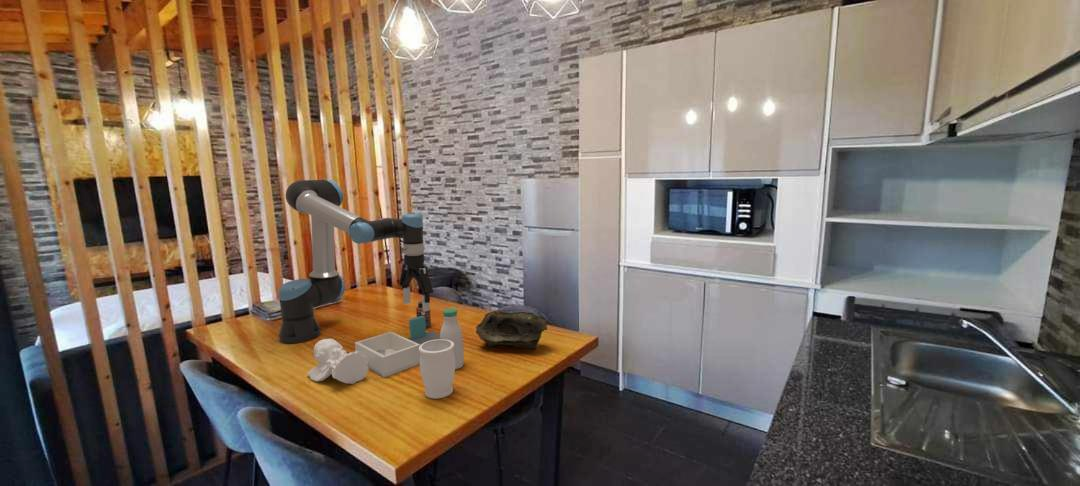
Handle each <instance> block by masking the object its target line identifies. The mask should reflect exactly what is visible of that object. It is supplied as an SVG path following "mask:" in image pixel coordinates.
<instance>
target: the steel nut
mask: <svg viewBox="0 0 1080 486" xmlns="http://www.w3.org/2000/svg"><path fill="white" fill-rule="evenodd" d="M374 351H376V352H378V353H380V354H382V355H384V356H385V355H386V352H385V351H384V350H378V349H376V350H374Z"/></svg>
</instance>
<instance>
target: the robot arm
mask: <svg viewBox="0 0 1080 486" xmlns="http://www.w3.org/2000/svg"><path fill="white" fill-rule="evenodd" d="M285 199H286V203H287V204H288V205H289V207H290V208H292V209H293V210H295V211H296V212H298V213H301V214H303V215H306V214H309V215H310V217H311V219H310V220H311V246H312V249H311V250H312V253H311V254H312V271H310V273H309V274H308V275H309V276H308V277H309V278H299V279H293V280H290V281H286V282H285V283H283V284H281V285H280V287H279V289H278V300H279V303H280V304H279V305H280V314H281V315H280V316H281V325H280V329H279V331H278V332H279V333H278V341H279V342H280V343H282V344H298V343H305V342H308V341H312V340H314V339H316V338H318V337H319V336H320V335H321V332H322V331H321V327H320V326H319V323H318V321H317V320H316V318H315V311H314V308H318V307H321V306H324V305H327V304H330V303H331V304H332V303H334V302H335V301H338V300H340V299H341V298H342V297H343V295H344V293H345V291H346V283H345V281H344V278H343V277H342V276H341V275H340V273H339V271H337V270H336V259H335V256H336V254H335V253H336V252H335V228H336V229H338V230H339V231H342V232H344V233H345V234H346V233H347V234H348V236H349V239H351V240H352V242H353V243H355V244H357V245H358V244H360V245H361V244H368V243H372V242H376V241H377V242H378V241H381V240H382V241H383V240H387V239H394V238H395V239H396V238H397V239H402V244H403V247H402V249H403V254H404V256H403V262H404V263H402V266H401V267H402V271H401V275H400V278H399V283H398V284H399V286H401V288H402V294H403V304H404V305H407V304H411V303H412V301H411V298H412V297H411V286H410V284H411V282H412V281H413V279H415V280H416V281H417V283H418V285H419V288H420V289H421V291H422V294H421V297H422V298H421V299H422V300H421V301H422V305H423V311H428V310H430V311H431V305H430V302H431V296H430V294H433V293H434V290H433V286H432V283H431V279H430V276H429V273H428V268H427V267H424V268H423V265H424V264H425V254H424V253H425V246H424V245H425V244H424V222H423V217H422V215H421V214H419V213H405V214H402V215H401V218H393V217H392V218H390V217H382V218H378V219H376V220H368V219H366V218H364V217H362V216H359V215H358V214H355V213H354V212H351V211H349V210H347V209H345V208H343V207H340V206H341V205H342V203H343V202H344V191H343V189H342V188H341V185H339V184H338V183H337V182H336V181H335V180H332V179H310V180H309V179H301V180H300V179H299V180H296V181H294V182H292V183H290V185H289V186H288V187H287V188H286V191H285Z"/></svg>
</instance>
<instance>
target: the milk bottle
mask: <svg viewBox="0 0 1080 486" xmlns="http://www.w3.org/2000/svg"><path fill="white" fill-rule="evenodd" d="M442 315H443V317H442V318H443V323H442V326H441V328H440V333H439V334H440V339H446V340H450V341H452V342H453V343H454V349H453V352H454V356H455V370H458V369H460V368H462V367H463V366H464V364H465V356H464V354H465V353H464V339H463V337H464V336H463V330H462V327H461V325H460V323H459V322H458V319H457V317H458V310H457V309H456V308H446V309H444V310H443V311H442Z"/></svg>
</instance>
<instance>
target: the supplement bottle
mask: <svg viewBox="0 0 1080 486" xmlns="http://www.w3.org/2000/svg"><path fill="white" fill-rule="evenodd" d="M417 303H418V305H417V307H416V308H415V310H416V311H415V312H416V317H419V316H425V325H426V329H427V328H430V327H432V321H431V320H432V319H431V318H432V317H431V309H430V310H428V311H423V305H422V300H421V301H418V302H417Z"/></svg>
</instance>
